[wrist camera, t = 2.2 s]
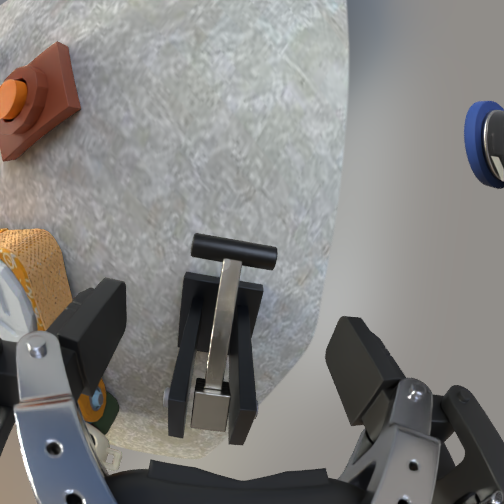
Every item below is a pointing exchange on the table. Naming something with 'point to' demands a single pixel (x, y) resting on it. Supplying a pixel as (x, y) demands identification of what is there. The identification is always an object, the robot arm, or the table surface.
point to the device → (37, 295)
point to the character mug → (99, 431)
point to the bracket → (198, 339)
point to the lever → (223, 322)
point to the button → (12, 98)
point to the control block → (40, 100)
